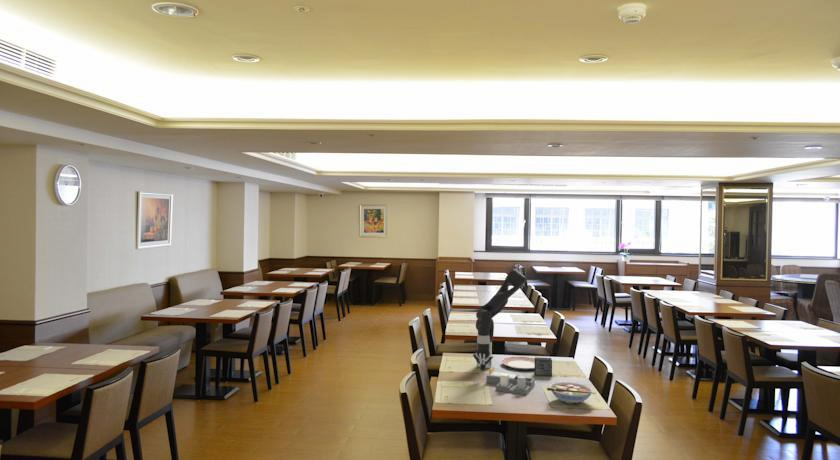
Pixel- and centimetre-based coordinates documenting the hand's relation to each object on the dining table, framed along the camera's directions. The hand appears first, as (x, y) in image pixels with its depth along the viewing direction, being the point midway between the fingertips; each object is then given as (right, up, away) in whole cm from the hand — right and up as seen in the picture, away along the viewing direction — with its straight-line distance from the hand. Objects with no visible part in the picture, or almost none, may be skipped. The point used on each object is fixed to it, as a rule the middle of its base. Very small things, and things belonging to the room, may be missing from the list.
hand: (482, 370), depth 330 cm
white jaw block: (+11, -5, -17) cm, 21 cm away
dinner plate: (+30, -6, +34) cm, 46 cm away
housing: (+13, -6, -12) cm, 19 cm away
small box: (+40, -7, +14) cm, 43 cm away
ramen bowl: (+43, -8, -37) cm, 57 cm away
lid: (+11, -2, -5) cm, 12 cm away
